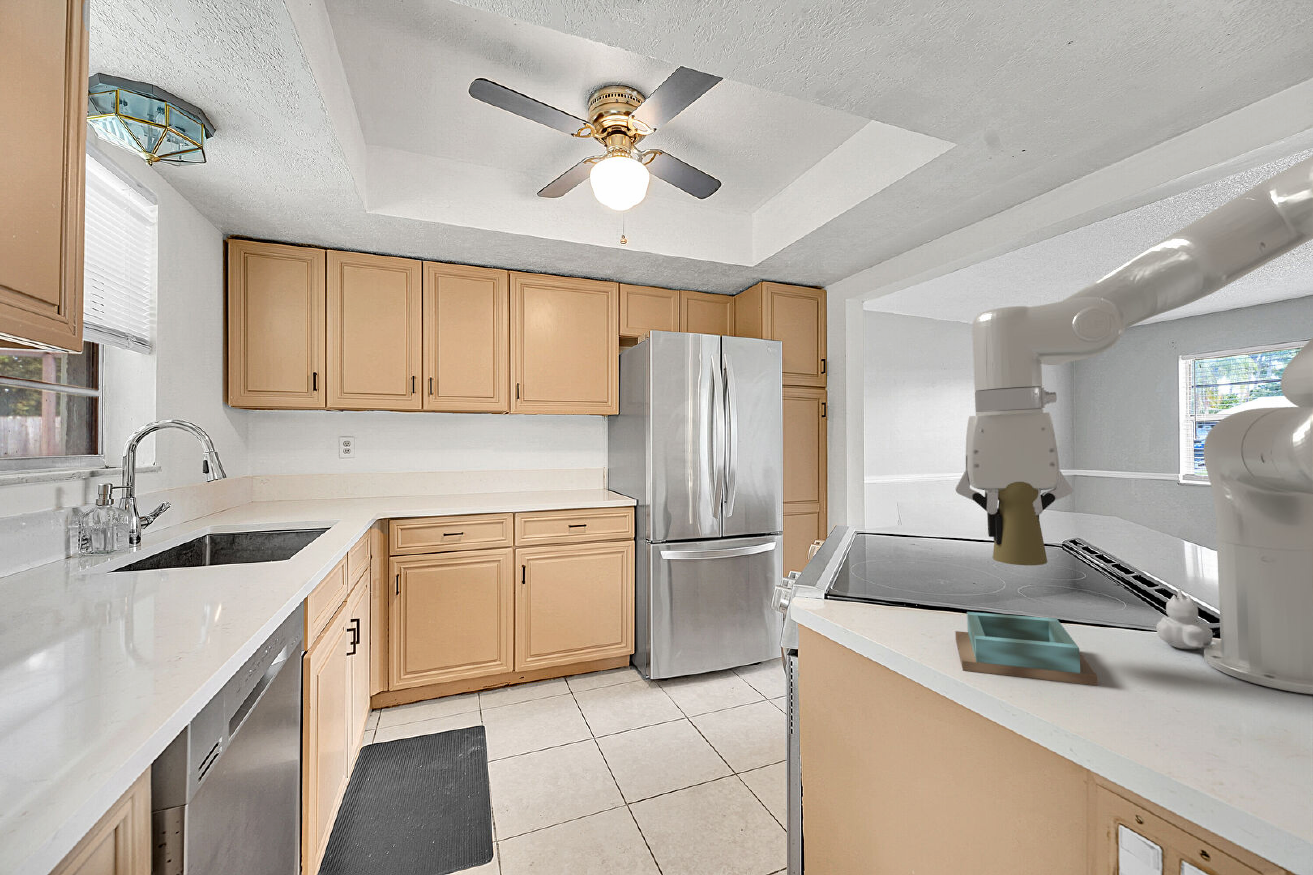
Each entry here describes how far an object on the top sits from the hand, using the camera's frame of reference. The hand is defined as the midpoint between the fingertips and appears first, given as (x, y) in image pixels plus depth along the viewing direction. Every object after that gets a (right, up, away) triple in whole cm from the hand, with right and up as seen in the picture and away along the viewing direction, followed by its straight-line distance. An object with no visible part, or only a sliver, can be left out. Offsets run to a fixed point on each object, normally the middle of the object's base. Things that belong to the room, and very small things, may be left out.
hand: (1013, 541), depth 74 cm
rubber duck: (+24, -15, +1) cm, 28 cm away
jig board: (+1, -16, 0) cm, 16 cm away
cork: (+1, -2, 0) cm, 3 cm away
